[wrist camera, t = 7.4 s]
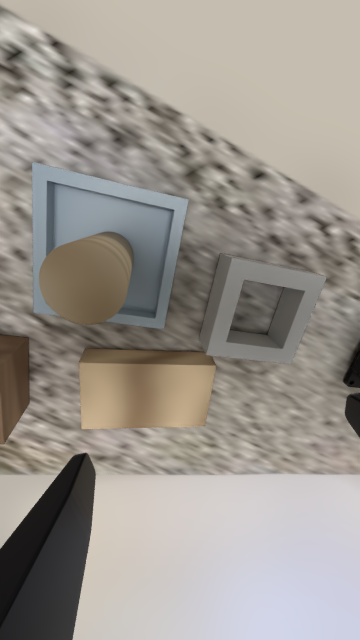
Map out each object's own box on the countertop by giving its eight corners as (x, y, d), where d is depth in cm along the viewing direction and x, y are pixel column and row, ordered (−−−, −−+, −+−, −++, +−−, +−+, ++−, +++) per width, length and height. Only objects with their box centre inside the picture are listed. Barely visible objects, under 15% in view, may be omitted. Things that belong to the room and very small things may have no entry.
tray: (183, 201, 16) (188, 199, 14) (161, 319, 19) (163, 329, 17) (45, 168, 14) (32, 161, 13) (44, 303, 17) (33, 312, 16)
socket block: (304, 270, 19) (327, 276, 17) (275, 348, 21) (290, 364, 19) (220, 253, 18) (232, 257, 15) (198, 339, 20) (206, 355, 18)
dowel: (119, 223, 15) (100, 226, 8) (141, 266, 17) (141, 303, 9) (77, 243, 15) (19, 265, 8) (102, 285, 17) (70, 336, 9)
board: (208, 349, 21) (216, 365, 19) (198, 405, 23) (204, 426, 21) (86, 346, 19) (78, 362, 17) (88, 406, 21) (81, 429, 19)
